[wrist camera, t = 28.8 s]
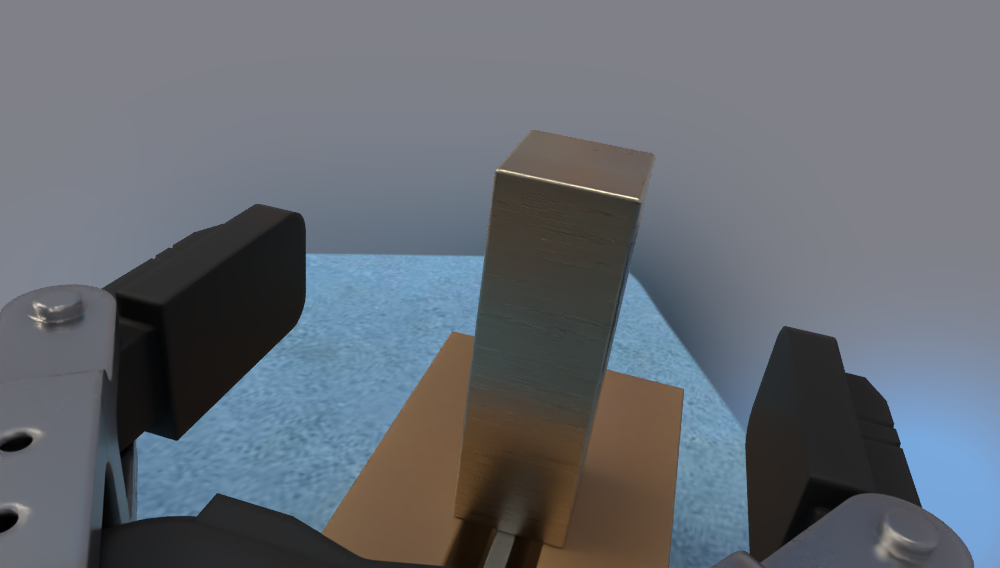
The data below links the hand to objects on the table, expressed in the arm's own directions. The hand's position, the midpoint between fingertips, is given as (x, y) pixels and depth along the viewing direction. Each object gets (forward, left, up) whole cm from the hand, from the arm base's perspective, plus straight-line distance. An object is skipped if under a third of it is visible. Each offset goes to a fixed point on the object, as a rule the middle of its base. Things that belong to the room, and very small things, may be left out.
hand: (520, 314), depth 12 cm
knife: (0, +4, -12) cm, 13 cm away
